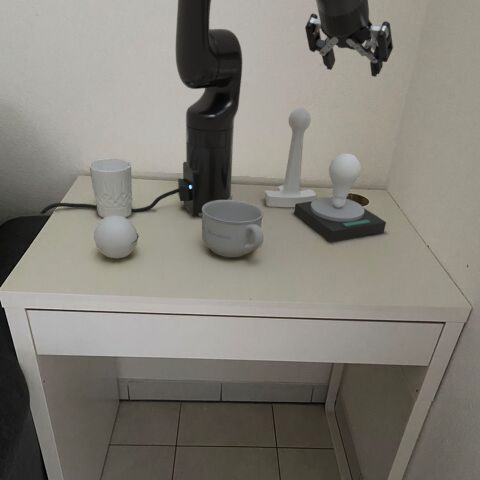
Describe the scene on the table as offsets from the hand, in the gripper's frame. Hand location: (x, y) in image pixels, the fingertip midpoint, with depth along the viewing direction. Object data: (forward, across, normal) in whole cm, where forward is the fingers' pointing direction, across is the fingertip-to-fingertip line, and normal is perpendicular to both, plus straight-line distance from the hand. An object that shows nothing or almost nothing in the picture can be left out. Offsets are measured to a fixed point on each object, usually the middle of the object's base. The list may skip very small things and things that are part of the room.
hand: (353, 68), depth 89 cm
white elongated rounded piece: (-7, +24, +48) cm, 53 cm away
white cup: (+2, +36, +39) cm, 53 cm away
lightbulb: (+17, -2, +19) cm, 26 cm away
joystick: (+22, +11, +19) cm, 31 cm away
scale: (+19, -3, +22) cm, 29 cm away
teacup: (+2, +7, +39) cm, 40 cm away
